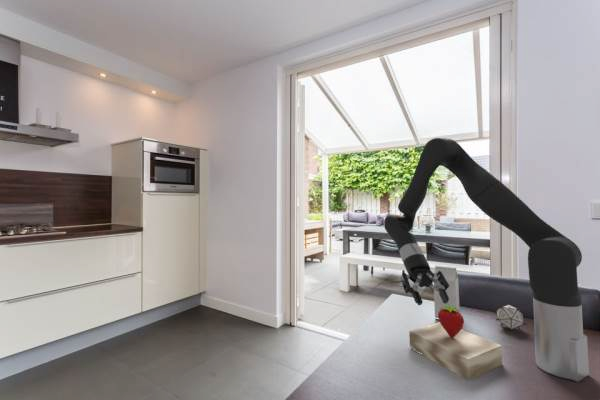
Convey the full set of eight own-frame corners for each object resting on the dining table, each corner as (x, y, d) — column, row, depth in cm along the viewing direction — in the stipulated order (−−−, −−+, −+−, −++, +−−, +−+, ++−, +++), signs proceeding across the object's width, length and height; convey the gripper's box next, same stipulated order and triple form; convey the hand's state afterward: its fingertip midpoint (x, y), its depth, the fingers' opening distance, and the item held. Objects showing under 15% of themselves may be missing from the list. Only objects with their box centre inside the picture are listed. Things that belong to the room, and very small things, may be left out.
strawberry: (450, 344, 76) (449, 307, 76) (433, 332, 84) (432, 298, 84) (470, 342, 77) (469, 305, 77) (452, 330, 84) (450, 296, 85)
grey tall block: (456, 323, 101) (454, 269, 101) (434, 319, 105) (432, 267, 106) (459, 317, 107) (457, 266, 107) (439, 313, 111) (437, 264, 111)
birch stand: (502, 364, 75) (501, 345, 75) (468, 380, 69) (467, 359, 69) (441, 337, 91) (441, 321, 91) (409, 347, 85) (409, 331, 85)
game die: (518, 341, 95) (539, 323, 90) (493, 332, 95) (513, 314, 90) (506, 318, 102) (525, 301, 97) (484, 310, 103) (501, 292, 97)
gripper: (397, 253, 97) (416, 298, 85) (437, 252, 98) (460, 296, 87) (391, 266, 102) (408, 310, 90) (428, 264, 104) (449, 307, 92)
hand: (433, 303), depth 89 cm, fingers open, 8 cm apart
